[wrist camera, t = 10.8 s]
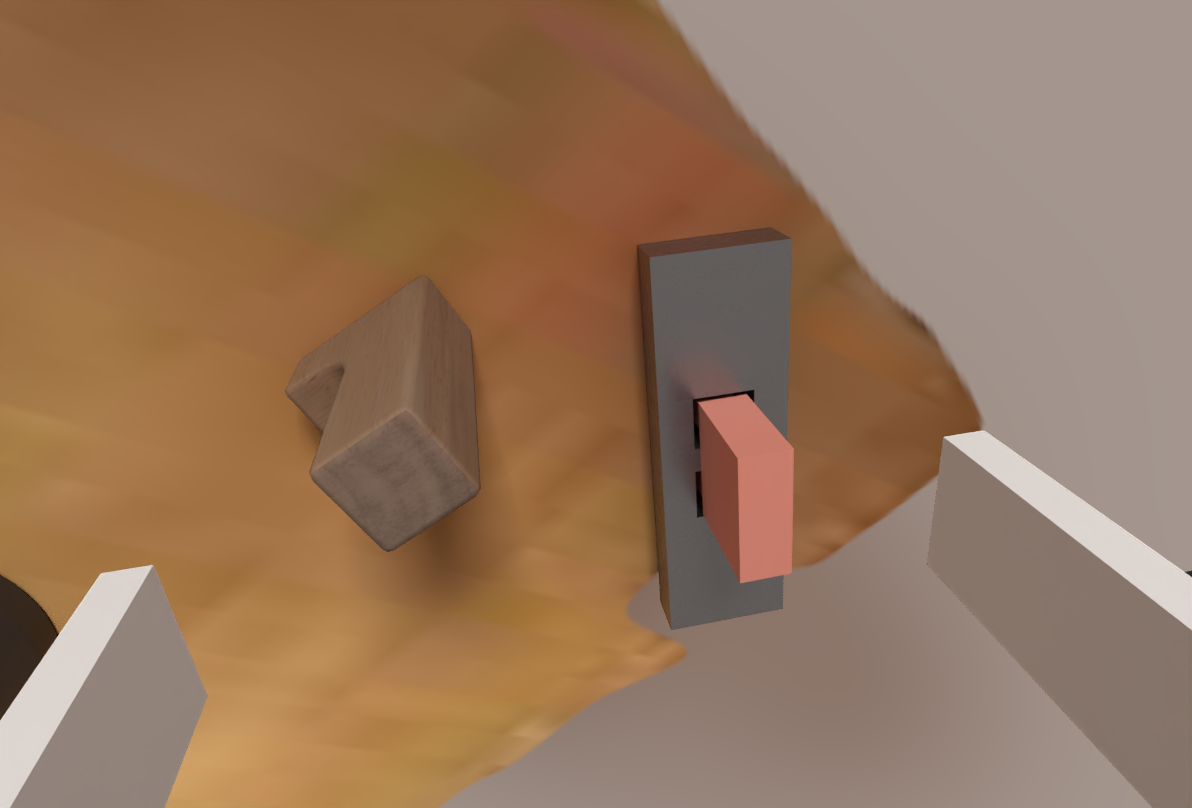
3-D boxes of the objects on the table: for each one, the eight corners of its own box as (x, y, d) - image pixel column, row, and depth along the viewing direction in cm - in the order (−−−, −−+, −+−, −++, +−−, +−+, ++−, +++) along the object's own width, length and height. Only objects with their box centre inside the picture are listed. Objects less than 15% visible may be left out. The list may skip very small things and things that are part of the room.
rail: (660, 601, 54) (671, 629, 52) (637, 244, 43) (649, 257, 41) (766, 581, 55) (782, 608, 53) (770, 227, 44) (791, 238, 41)
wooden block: (350, 418, 45) (291, 622, 29) (296, 361, 43) (200, 546, 27) (474, 333, 44) (485, 494, 28) (425, 270, 42) (406, 406, 26)
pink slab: (689, 490, 51) (740, 583, 42) (684, 382, 47) (737, 458, 38) (732, 482, 51) (791, 573, 42) (730, 375, 48) (793, 448, 39)
